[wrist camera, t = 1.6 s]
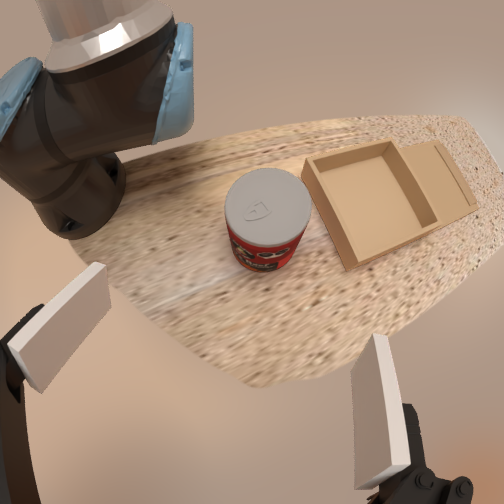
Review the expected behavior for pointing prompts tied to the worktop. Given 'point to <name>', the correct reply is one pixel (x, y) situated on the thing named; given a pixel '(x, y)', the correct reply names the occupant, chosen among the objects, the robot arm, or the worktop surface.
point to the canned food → (266, 217)
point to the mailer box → (385, 195)
